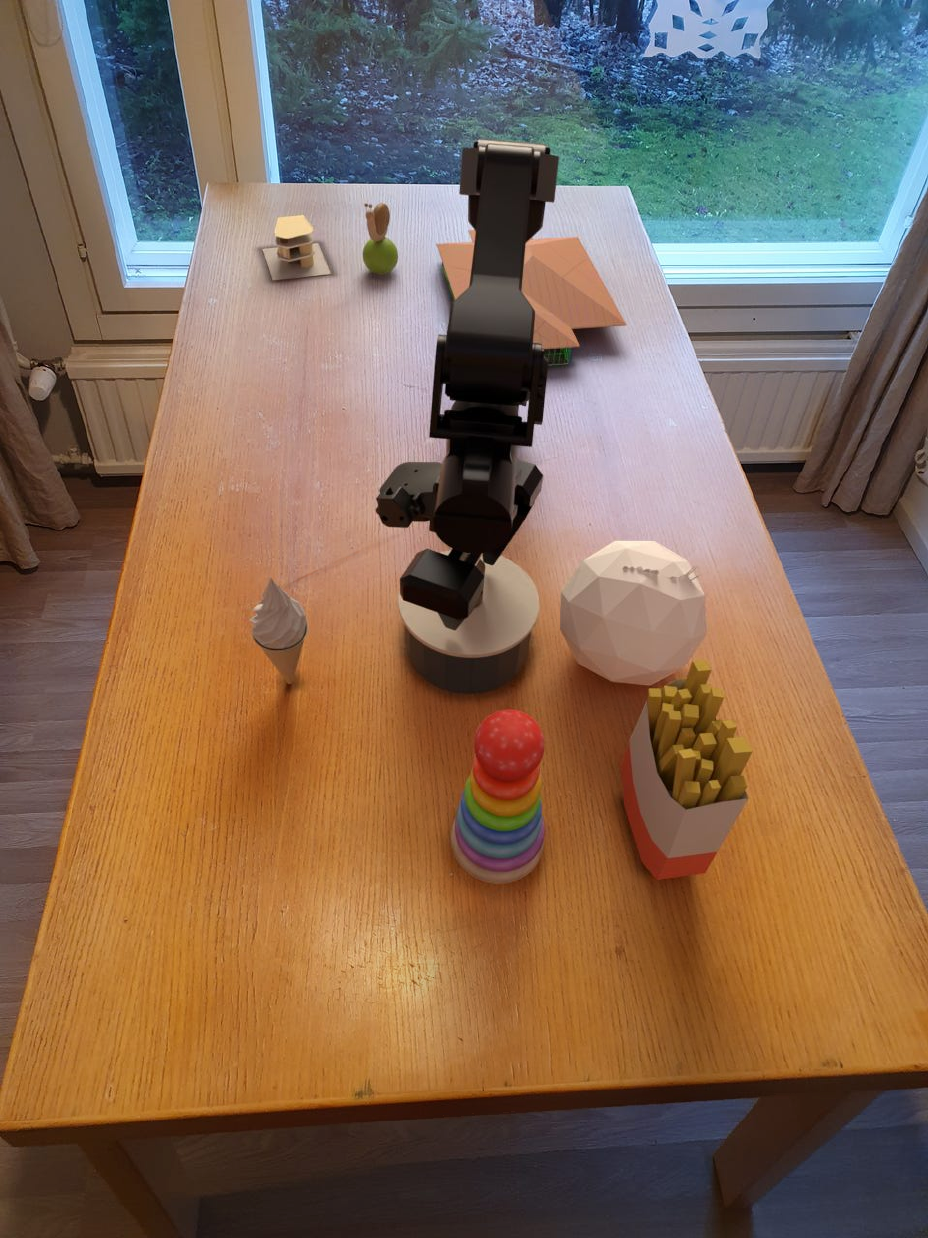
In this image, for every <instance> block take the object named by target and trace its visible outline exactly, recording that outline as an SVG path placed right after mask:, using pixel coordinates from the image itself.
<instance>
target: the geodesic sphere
mask: <svg viewBox="0 0 928 1238" xmlns="http://www.w3.org/2000/svg"><path fill="white" fill-rule="evenodd" d="M697 569H698V566H695V567H694V568H693V567H692V565H691V564H690V561H689V560H688V559H685V558H684V557H682V556H681V555H679V554H677V553H675V552H674V551H672V550H670V549H669V548H667V547H665V546H664V545H662V544H660V543H659V542H657V541H655V540H614V541H613V542H611V543H610V544H607V545H606V546H604V547H603V548H601V549H600V550H598V551H596V552H595V553H593V554H591V555H590V556H588V557H586V558H585V559H583V560H582V561H581V563H580V564H579V566H577V568H576V570H575V571H574V573H573V574H572V576H571V577H570V578H569V580H568V581H567V582H566V584H565V585H564V587H563V588H562V589H561V591H560V615H559V616H560V617H559V631H560V633H561V634H562V636H563V637H564V640H565V641H566V644H567V645H568V647H569V649H570V651H571V653H572V655H573V656H574V659H575V661H576V662H577V664H578V665H579V666H582V667H584V668H585V669H587V670H589V671H591V672H593V673H595V674H597V676H600V677H602V678H603V679H605V680H607V681H609V682H611V683H618V684H619V683H620V684H628V685H629V684H631V685H641V686H649V687H650V686H652V685H654V684H656V683H658V682H659V681H661V680H664V679H666V678H668V677H670V676H671V675H674V674H675V673H677V672H679V671H681V670H682V669H684V668H686V666H687V665H688V664H689V662H690V661H691V659H692V657H693V656H694V654H695V653H696V651H697V650H698V649H699V647H700V645H701V643H702V642H703V640H705V637H706V636H707V607H706V595H705V593H704V590H703V589H702V587H701V585H700V581H699V580H698V577H700V576H702V573H700V574H698V575H696V574H695V571H696V570H697Z"/></svg>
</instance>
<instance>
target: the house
mask: <svg viewBox="0 0 928 1238" xmlns="http://www.w3.org/2000/svg"><path fill="white" fill-rule="evenodd" d="M468 234H469V237H470V239H471V241H463V242H442V243H436V244H435V245H436V248H437V250H438V254H439V257H440V259H441V260H440V261H441V267H442V271H443V273H444V277H445V280H446V282H447V285H448V288H449V292H450V295H451V298H452V300H453V301H452V302H454V301H455V300H456V299H457V298H458V297H459V296H460V295H461V294H462V293H463V292H464V291H465V290H466V289H467V288H468V287H469V284H470V277H471V268H472V260H473V251H474V243H475V234H476V231H475V230H474V229H468ZM521 291H522V293H523V294H524V296H525V297H526V299H527V300H528V301H529V303H530V304H531V306H532V307H533V309H534V310H535V323H534V336H533V343H542V350H548V353H544V356H547V355H548V356H547V359H548V360H549V358H550V356H553V357H555V356H556V355H559V357H558V361H560V360H561V355H563V356H564V361H563V365H570V361H571V355H572V349H573V348H580V347H581V345H580V343H579V341H578V339H577V337H576V335H575V333H574V331H573V330H577V329H578V330H579V329H593V328H595V329H596V328H605V327H606V328H608V327H624V326H628V325H627V322H626V321H625V319H624V318H623V316H622V314H621V311H620V310H619V308H618V307H617V305H616V303H615V300H614V299H613V297H612V296H611V294H610V292H609V290H608V288H607V287H606V285H605V283H604V281H603V280H602V277H601V276H600V274H599V272H598V271H597V269H596V267H595V265H594V263H593V261H592V260H591V257H590V256H589V254H588V252H587V250H586V249H585V247H584V245H583V243H582V241H581V239H580V238H579V236H570V237H569V236H568V237H567V236H565V237H548V238H534V237H532V238H531V239H530V240H529V241H528V242H527V243H526V246H525V257H524V268H523V279H522V290H521ZM557 349H560V350H559V352H557V353H556V351H554V353H550V350H557ZM566 362H567V363H566ZM559 365H562V363H560V362H558V363H555V358H553V360H552V363H550V364H549V366H559Z"/></svg>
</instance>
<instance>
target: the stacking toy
mask: <svg viewBox="0 0 928 1238" xmlns="http://www.w3.org/2000/svg"><path fill="white" fill-rule="evenodd" d="M545 744H546V743H545V737H544V733H543V731H542V729H541V727H540V726H539V724H538V722H537V721H536V720H535V719H534V718H533V717H532V716H530V715H529V714H527V713H525V712H524V711H521V710H517V709H513V708H511V709H508V708H507V709H501V710H496V711H494V712H493V713H491V714H489V715H488V716H486V717H485V718H484V719H483V720H482V722H480V724H479V725H478V727H477V729H476V731H475V735H474V738H473V751H474V757H473V761H472V769H471V771H470V774H469V776H468V777H467V780H466V781H465V784H464V788H463V790H462V793H461V797H460V800H459V802H458V806H457V812H456V816H455V818H454V820H453V821H452V824H451V828H450V835H449V837H450V838H449V841H450V847H451V850H452V851H451V852H452V853H453V856H454V858H455V860H456V861H457V864H458V865H459V866H460V867H461V868H462V869H463V870H464V871H465V872H466V873H467V874H468V875H470V876H471V877H473V878H475V879H476V880H479V881H480V882H483V883H488V884H495V885H504V884H505V885H506V884H511V883H514V882H517V881H519V880H521V879H524V878H525V877H526V876H528V875H529V874H530V873H531V872H532V871H533V870H534V869H535V868H536V867H537V865H538V864H539V862H540V860H541V858H542V855H543V853H544V850H545V836H546V824H545V820H544V816H543V804H542V788H543V782H542V775H541V766H540V763H541V761H542V760H543V757H544V753H545V746H546V745H545Z"/></svg>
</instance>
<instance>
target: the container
mask: <svg viewBox="0 0 928 1238" xmlns="http://www.w3.org/2000/svg"><path fill="white" fill-rule="evenodd" d="M531 636H532V631H531V632H530V633H529V634H528V636H527V637H526V638H525V639H524V640H522V641H521V642H520V643H519V644H517V645H516V646H514V647H513V648H511V649H509V650H507V651H505V652H502V653H499V654H496V655H491V656H487V657H479V658H465V657H456V656H451V655H447V654H444V653H441V652H438V651H436V650H434V649H431V648H429V647H428V646H426V645H424V644H423V643H421V642H420V641H419V640H417V639H416V638H415V637H414V636H413V635H412V634H411V633H410V632H409V630H408V629H407V628H406V626H405V625H404V645H405V649H406V650H405V651H406V655H407V658H408V661H409V663H410V665H411V666H412V668H413V669H414V671H415V672H416V674H418V676H420V677H421V678H422V679H423V680H425V681H426V682H427V683H428V684H430V685H432V686H434V687H435V688H438V689H440V690H443V691H446V692H448V693H453V694H457V695H458V694H459V695H479V694H485V693H489V692H493V691H495V690H498V689H500V688H502V687H504V686H506V685H507V684H509V683H510V682H512V680H514V679H515V678H516V677H517V676H518V674H519V673H520V672H521V671H522V670H523V667H525V664H526V662H527V660H528V654H529V649H530V643H531V642H530V641H531Z"/></svg>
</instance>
